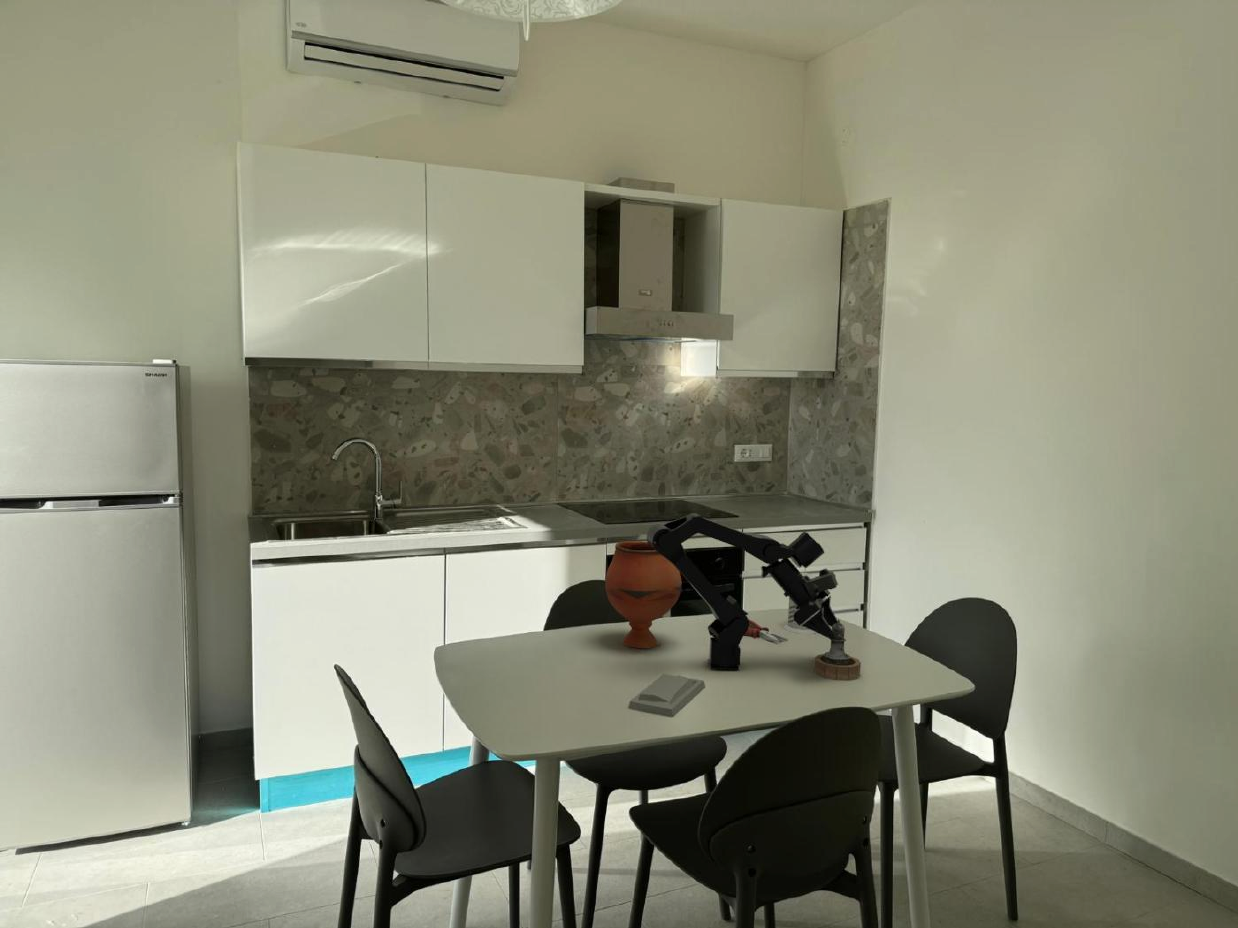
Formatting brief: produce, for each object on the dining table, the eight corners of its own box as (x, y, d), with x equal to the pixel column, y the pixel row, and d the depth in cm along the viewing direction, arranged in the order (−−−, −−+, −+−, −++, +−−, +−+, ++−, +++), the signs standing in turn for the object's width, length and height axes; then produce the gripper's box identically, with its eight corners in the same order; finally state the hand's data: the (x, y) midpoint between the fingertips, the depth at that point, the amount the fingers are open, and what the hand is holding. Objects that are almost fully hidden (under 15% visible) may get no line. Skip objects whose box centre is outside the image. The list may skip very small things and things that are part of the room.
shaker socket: (819, 679, 202) (820, 666, 202) (810, 665, 212) (811, 652, 212) (864, 680, 202) (865, 667, 202) (853, 666, 212) (853, 654, 212)
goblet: (669, 658, 213) (673, 554, 211) (592, 649, 218) (595, 548, 216) (686, 637, 231) (690, 542, 229) (614, 629, 236) (617, 536, 234)
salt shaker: (818, 670, 207) (820, 618, 206) (831, 665, 211) (834, 614, 210) (840, 676, 203) (843, 624, 202) (854, 671, 207) (856, 619, 206)
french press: (799, 621, 251) (804, 533, 249) (833, 631, 242) (838, 540, 240) (776, 627, 245) (780, 536, 243) (810, 637, 236) (815, 543, 234)
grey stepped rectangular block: (706, 689, 194) (706, 673, 194) (673, 720, 176) (674, 702, 175) (661, 681, 198) (662, 666, 198) (625, 710, 180) (626, 693, 179)
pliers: (769, 649, 225) (770, 639, 225) (711, 631, 241) (712, 621, 240) (798, 642, 233) (798, 632, 233) (740, 625, 248) (740, 615, 248)
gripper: (811, 566, 198) (859, 622, 195) (823, 552, 215) (867, 603, 212) (774, 597, 201) (821, 652, 198) (788, 581, 219) (831, 631, 216)
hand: (836, 633), depth 206 cm, fingers open, 9 cm apart
